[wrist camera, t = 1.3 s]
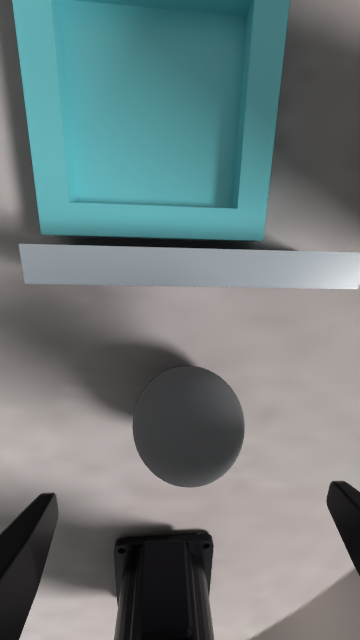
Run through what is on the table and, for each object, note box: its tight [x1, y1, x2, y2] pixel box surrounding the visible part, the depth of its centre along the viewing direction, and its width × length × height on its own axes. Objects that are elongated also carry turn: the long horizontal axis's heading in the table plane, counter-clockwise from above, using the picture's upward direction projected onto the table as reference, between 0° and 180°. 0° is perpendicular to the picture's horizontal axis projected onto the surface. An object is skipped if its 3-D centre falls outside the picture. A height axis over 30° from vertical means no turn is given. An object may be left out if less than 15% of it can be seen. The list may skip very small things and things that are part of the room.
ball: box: [133, 366, 244, 487], centre depth 11 cm, size 5×5×5 cm
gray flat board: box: [19, 244, 360, 289], centre depth 10 cm, size 1×11×4 cm, turn 88°
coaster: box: [12, 0, 290, 242], centre depth 9 cm, size 9×9×1 cm
